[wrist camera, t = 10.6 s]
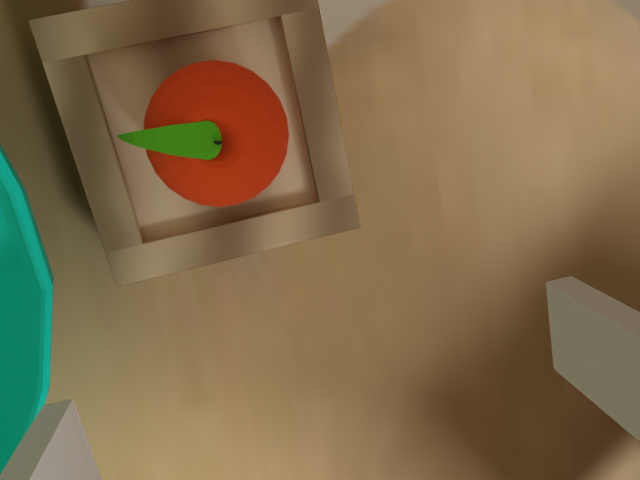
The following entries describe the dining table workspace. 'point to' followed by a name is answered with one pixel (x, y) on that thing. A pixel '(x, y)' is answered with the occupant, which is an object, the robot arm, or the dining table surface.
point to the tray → (131, 104)
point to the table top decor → (21, 314)
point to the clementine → (214, 133)
